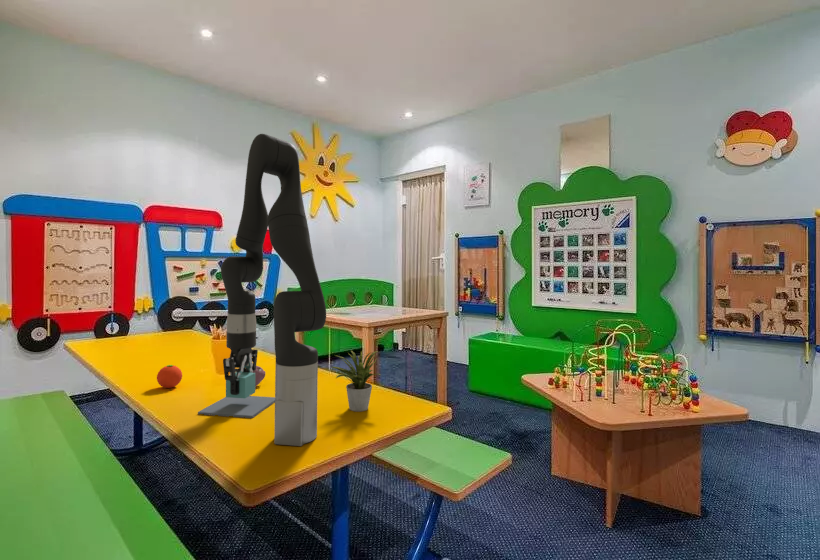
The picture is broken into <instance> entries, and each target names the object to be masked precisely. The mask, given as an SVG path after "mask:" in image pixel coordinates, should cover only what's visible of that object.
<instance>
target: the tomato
mask: <svg viewBox="0 0 820 560" xmlns="http://www.w3.org/2000/svg"><path fill="white" fill-rule="evenodd" d="M182 379H183V372H182V370H181V369H180V367H178V366H176V365H173V364H168V365H165V366H164V367H162V368H160V370H159V371H158V372H157V374H156V381H157V384H159V386H160V387H162V388H166V389H170V388H171V389H172V388H174V387H176V386H177V385H179V384H180V383H181V381H182Z"/></svg>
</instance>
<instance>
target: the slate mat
mask: <svg viewBox="0 0 820 560" xmlns="http://www.w3.org/2000/svg"><path fill="white" fill-rule="evenodd" d="M273 404H275V396H273V397H272V396H259V395H256V396H255V395H250V396H248V397H247V398H230V397H226V396H225V397H223V398H221V399H219V400H217V401H216V402H214V403H212V404H210V405H208V406H206V407H205V408H203V409H201V410H199V411H198V412H197V415H200V414H204V416H215V415H218V416H219V417H229V416H233V417H234V418H244V417H245V418H247V419H248V418H249V419H253V418H255V417H256V416H258V415H260V413H262V412H263V411H264V410H266V409H267V408H269V407H270V406H271V405H273ZM218 416H217V417H218Z"/></svg>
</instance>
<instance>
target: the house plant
mask: <svg viewBox="0 0 820 560" xmlns="http://www.w3.org/2000/svg"><path fill="white" fill-rule="evenodd" d="M350 352H351V354H350V353H349V352H347V353H348V355H349V356H350V358H351V359H352V361H353V364H354V366H355V367H354V366H353V364H352V363H351V362H350V361H349V360H348V359H347V358H345V357H343V356H339V355H337V357H339V358H340V359H341V361H342V362H344V364H346V365H347V366H348V367H349V368H350V369H347V368H342V367H338V366H331V368H332V369H336V370H337V371H338V372H339V373H341V374H337V376H336V377H335V379H338V378H340V377H345V378H346V379H348V380H349V381H350V383H348V384H346V386H345V387H346V388H345V389H346V394H347V401H348V407H349V409H348V410H350V411H352V412H365V411H367V410H368V409H369V404H370V399H371V394H372V388H373V385H372V384H371V383H368V382H367V381H368V380H369V378H371V377H372V376H375V375H376V373H371V372H375V371H374V369H371V367H372V366H373V365H374V364H375V363H376V362H377V359H374V358H375V357H376V353H378V352H379V350H377V351H373V352H368V353H367V354H366V355H365V357H364V359H363V351H362V350H360V354H359V355H356V353H355V352H354V351H353V350H350ZM333 356H335V357H336V355H335V354H334V355H333ZM357 358H358V359H357ZM373 360H374V361H373ZM378 375H379V376H381V374H380V373H378Z"/></svg>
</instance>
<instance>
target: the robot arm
mask: <svg viewBox="0 0 820 560" xmlns="http://www.w3.org/2000/svg"><path fill="white" fill-rule="evenodd" d="M246 165H247V166H246V175H245V185H244V195H243V205H242V206H243V207H242V211H241V217H240V220H239V223H238V228H237V232H236V236H235V240H234V241H235V245H236V246H237V248H239V249H241V250H244V251H245V252H246V254H245V256H233V255H232V256H228V257H226V258H225V259H224V260H223V262H222V264H221V267H220V275H221V279H222V282H223V286H224V289H225V293H226V294H225V295H226V298H227V318H226V345H225V346H226V348H228V349H229V350H230V354H229V357H228V358H227V357H226V358H225V357H224V358H223V359H222V364H223V375H224V380H225V381H226V380H229V381H230V393H231V394H232V395H238V394H239V379H240V374H241V372H249V373H253V371H255V370H256V366H257V364H258V363H257V362H258V349H255V348H254V347H256V346H257V317H256V295H255V293H254V292H252V291H248V290H245V289H244V287H243V286H244V285H243V283H254V282H256V281H258V280H259V279H260V278H261V276H262V274H263V270H264V243H265V240H266V236H267V232H268V233H269V239H270V243H271V247H272V248H273V249H274V251H275V252H276V254H277V255H278V257H280V258H281V260H282V261H283V262H284V263H285V264H286V265H287V267H288V268H289V269H290V270H291V271H292V273H293V274H294V276H295V277H296V279H297V282H298V285H299V287H300V290H287V291H285V290H284V291H280V292H278V293H277V294H276V296H275V298H274V302H273V311H272V312H273V333H274V353H275V376H274V377H275V381H274V388H275V389H274V392H275V393H274V397H275V403H274V445H283V446H293V447H294V446H295V447H297V446H298V447H302V446H303V445H304V444H308V443H311V442H312V441H314V440H315V439H316V438H317V437H318V434H317V433H318V376H319V374H318V370H319V367H318V366H319V365H318V364H319V352H318V349H317V348H316V347H314V346H310V345H307V344H302V343H301V342H298V341H297V340H296V336H295V335H296V334H295V333H300V332H302V333H304V332H312V331H313V332H314V331H319V330H321V329H323V328H324V326H325V323H326V320H327V307H326V306H327V305H326V301H325V297H324V293H323V290H322V287H321V282H320V279H319V275H318V272H317V267H316V265H315V260H314V254H313V249H312V245H311V244H312V243H311V238H310V237H311V236H310V230H309V225H308V220H307V219H308V218H307V215H306V210H305V206H304V200H303V192H302V184H301V173H300V159H299V153H298V150H297V148H296V146H295V145H294V144H292V143H291V142H289V141H285V140H283V139H282V138H281V139H280V138H277V137H275V136H272V135H269V134H267V133H259V134H257V135H256V136H255V137H254V139H253V140H252V142H251V145H250V148H249V152H248V158H247V164H246ZM264 173H265V174H268V175H272V176H275V177H277V178H278V180H279V183H280V193H279V195H278V197H276V200H275V202H273V204H272V206H271V208H270V210H269V212H268V209H267V206H266V203H265V200H264V196H263V190H262V189H263V188H262V182H263V177H264ZM253 348H254V349H253ZM236 372H237V375H236Z"/></svg>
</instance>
